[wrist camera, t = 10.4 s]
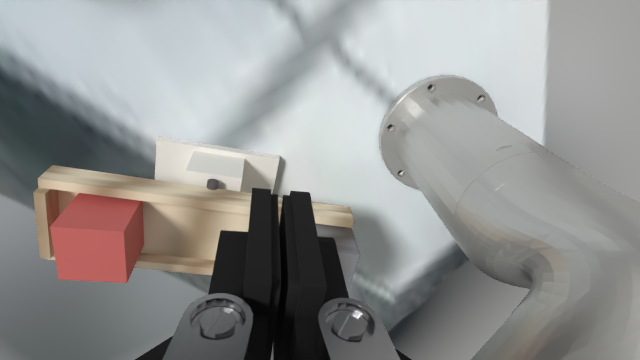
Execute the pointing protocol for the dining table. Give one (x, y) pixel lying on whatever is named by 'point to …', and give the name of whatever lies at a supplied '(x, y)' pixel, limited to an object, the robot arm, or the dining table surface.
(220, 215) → the beam
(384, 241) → the dining table surface
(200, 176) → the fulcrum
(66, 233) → the block
